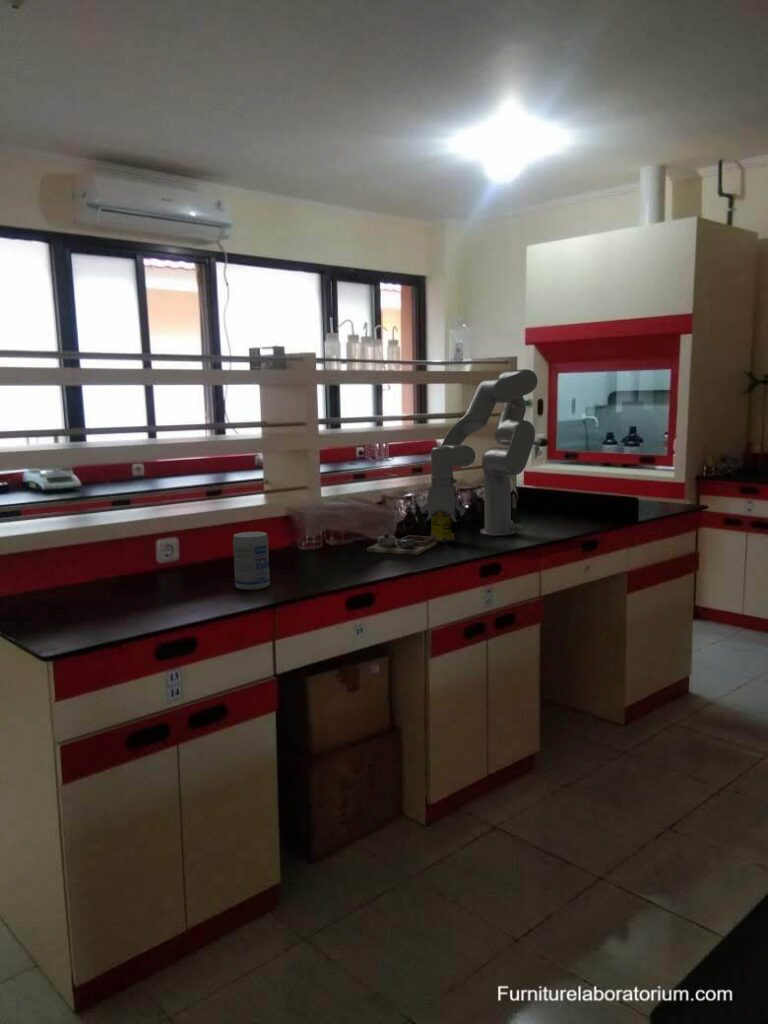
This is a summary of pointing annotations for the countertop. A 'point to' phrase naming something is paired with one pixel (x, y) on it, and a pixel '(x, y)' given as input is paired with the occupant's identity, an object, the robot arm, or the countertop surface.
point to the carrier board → (392, 544)
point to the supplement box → (441, 527)
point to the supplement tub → (251, 560)
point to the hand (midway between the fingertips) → (442, 531)
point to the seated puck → (406, 544)
